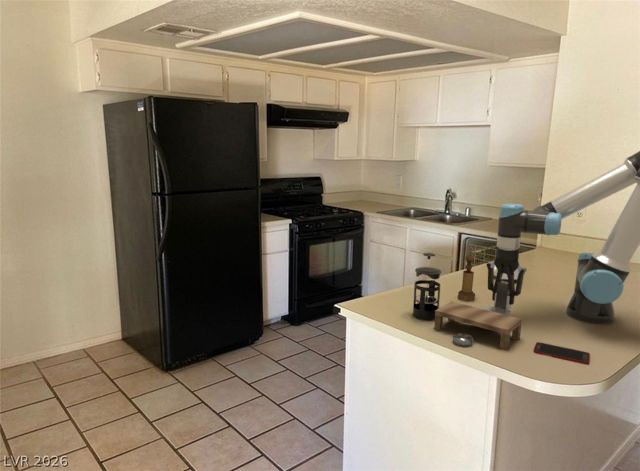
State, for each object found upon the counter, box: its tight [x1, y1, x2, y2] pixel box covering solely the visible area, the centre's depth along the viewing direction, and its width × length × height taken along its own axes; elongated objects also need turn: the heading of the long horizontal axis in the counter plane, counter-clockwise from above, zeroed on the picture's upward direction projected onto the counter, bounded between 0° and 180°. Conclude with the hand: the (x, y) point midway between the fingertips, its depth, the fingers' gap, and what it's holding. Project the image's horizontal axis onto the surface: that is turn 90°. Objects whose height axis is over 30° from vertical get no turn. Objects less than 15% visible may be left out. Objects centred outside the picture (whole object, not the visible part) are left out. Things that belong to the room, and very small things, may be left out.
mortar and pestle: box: [457, 254, 476, 302], centre depth 185 cm, size 7×6×18 cm
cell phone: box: [533, 341, 591, 366], centre depth 140 cm, size 8×15×1 cm, turn 59°
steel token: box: [452, 333, 474, 348], centre depth 147 cm, size 6×6×2 cm
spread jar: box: [494, 261, 520, 283], centre depth 212 cm, size 12×11×12 cm
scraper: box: [481, 281, 512, 316], centre depth 163 cm, size 8×19×12 cm, turn 139°
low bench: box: [433, 300, 523, 351], centre depth 153 cm, size 24×12×6 cm, turn 49°
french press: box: [411, 252, 442, 322], centre depth 167 cm, size 12×9×23 cm
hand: (502, 310), depth 170 cm, fingers closed on scraper, 3 cm apart
